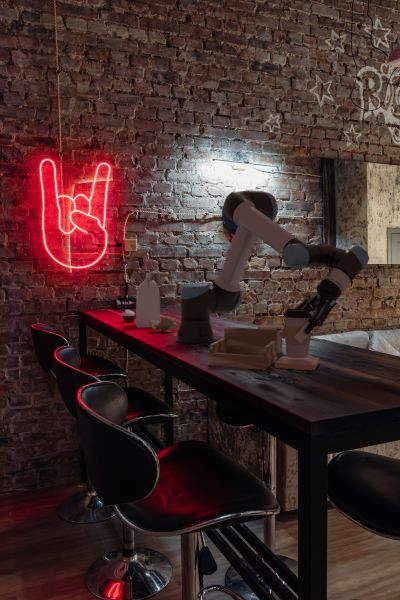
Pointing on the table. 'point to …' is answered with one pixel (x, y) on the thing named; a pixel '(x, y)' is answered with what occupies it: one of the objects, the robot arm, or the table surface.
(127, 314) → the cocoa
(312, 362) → the terracotta tile
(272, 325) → the teacup with lid
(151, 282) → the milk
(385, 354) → the table surface
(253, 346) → the frame
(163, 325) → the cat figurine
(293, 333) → the coffee cup
